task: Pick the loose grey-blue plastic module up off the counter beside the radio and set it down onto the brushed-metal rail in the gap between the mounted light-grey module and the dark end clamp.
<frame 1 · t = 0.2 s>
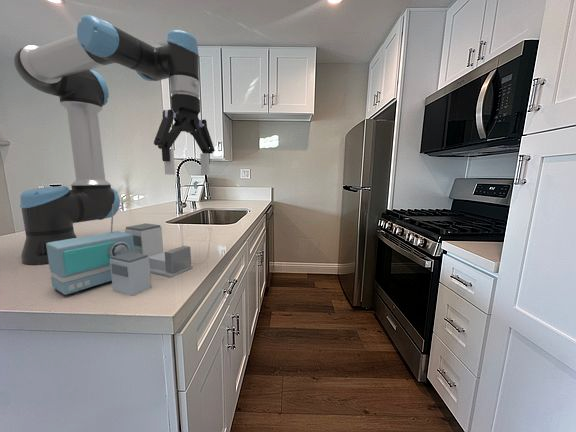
hand: (189, 174, 73), 28 cm above the table, fingers open, 13 cm apart
rail panel: (158, 267, 77), on the table
radio: (98, 283, 66), on the table
end clamp: (179, 270, 74), resting on rail panel
module: (132, 289, 62), on the table
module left: (146, 264, 79), resting on rail panel
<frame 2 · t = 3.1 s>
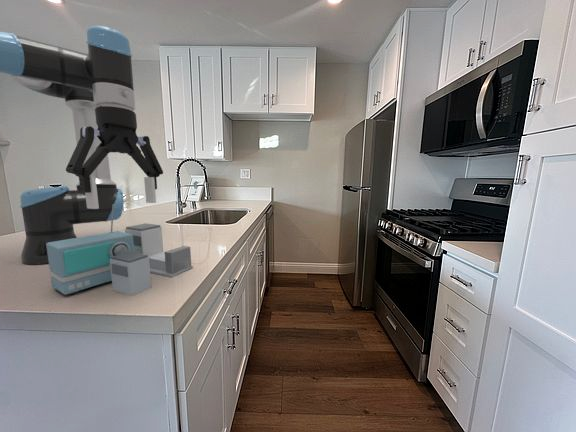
hand: (125, 205, 59), 21 cm above the table, fingers open, 13 cm apart
nothing on the table moved.
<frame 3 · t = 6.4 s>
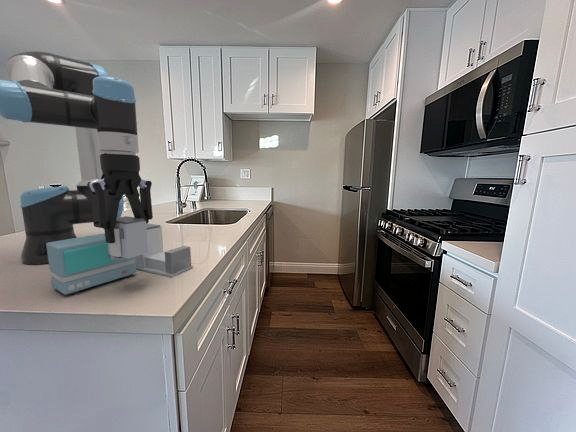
hand: (128, 251, 61), 9 cm above the table, fingers closed on module, 5 cm apart
module: (128, 253, 61), point 9 cm above the table, touching gripper
everything else where it was.
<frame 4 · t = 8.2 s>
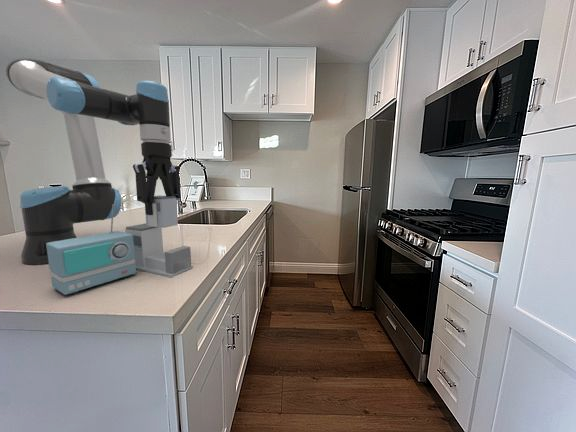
hand: (162, 224, 74), 14 cm above the table, fingers closed on module, 5 cm apart
module: (162, 225, 74), point 13 cm above the table, touching gripper
everything else where it was.
when the fingers open (4 cm above the table, at t = 10.1 s): module stays where it is, resting on rail panel.
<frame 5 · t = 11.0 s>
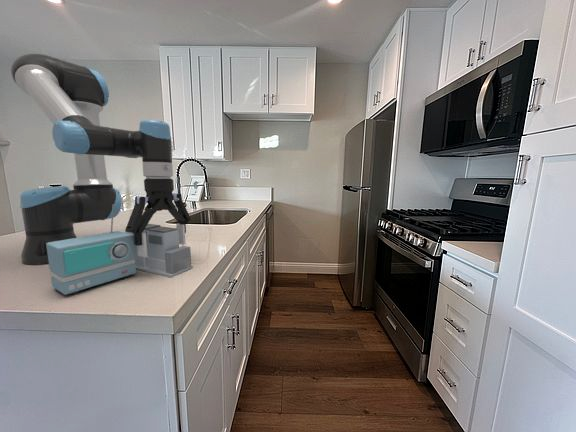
hand: (163, 249, 75), 6 cm above the table, fingers open, 13 cm apart
module: (164, 256, 76), point 4 cm above the table, touching rail panel
everything else where it was.
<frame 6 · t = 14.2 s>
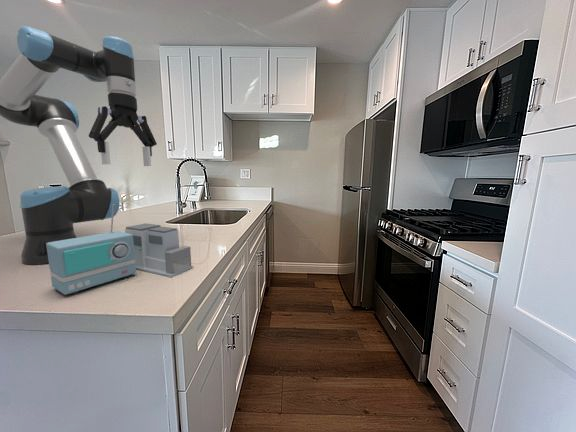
hand: (128, 165, 81), 31 cm above the table, fingers open, 13 cm apart
nothing on the table moved.
at the end: module 0.1 cm from the target spot, point 3.6 cm above the table; module tilted 0°; the gripper is holding nothing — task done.
